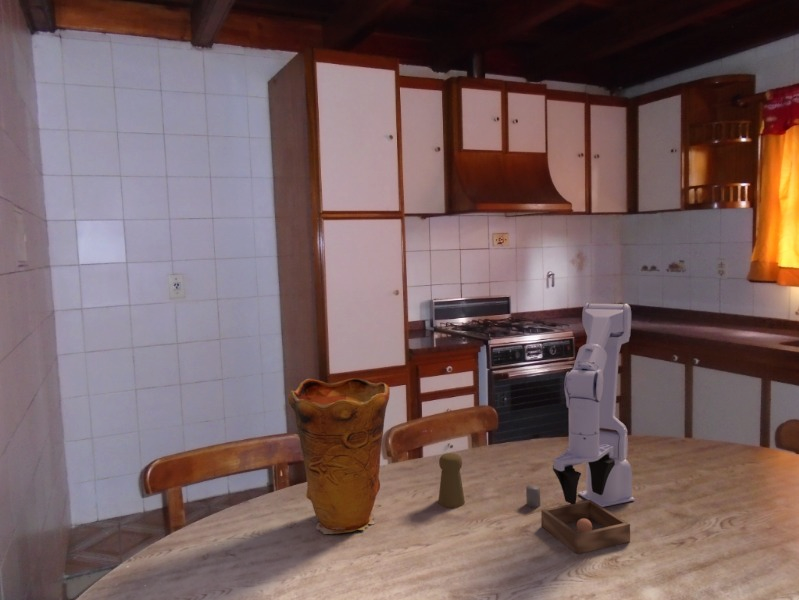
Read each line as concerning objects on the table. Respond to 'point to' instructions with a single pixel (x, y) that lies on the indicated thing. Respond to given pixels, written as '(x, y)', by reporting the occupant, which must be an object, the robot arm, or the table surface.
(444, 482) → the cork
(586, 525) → the terracotta ball
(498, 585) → the table surface
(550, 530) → the walnut crate
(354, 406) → the vase
